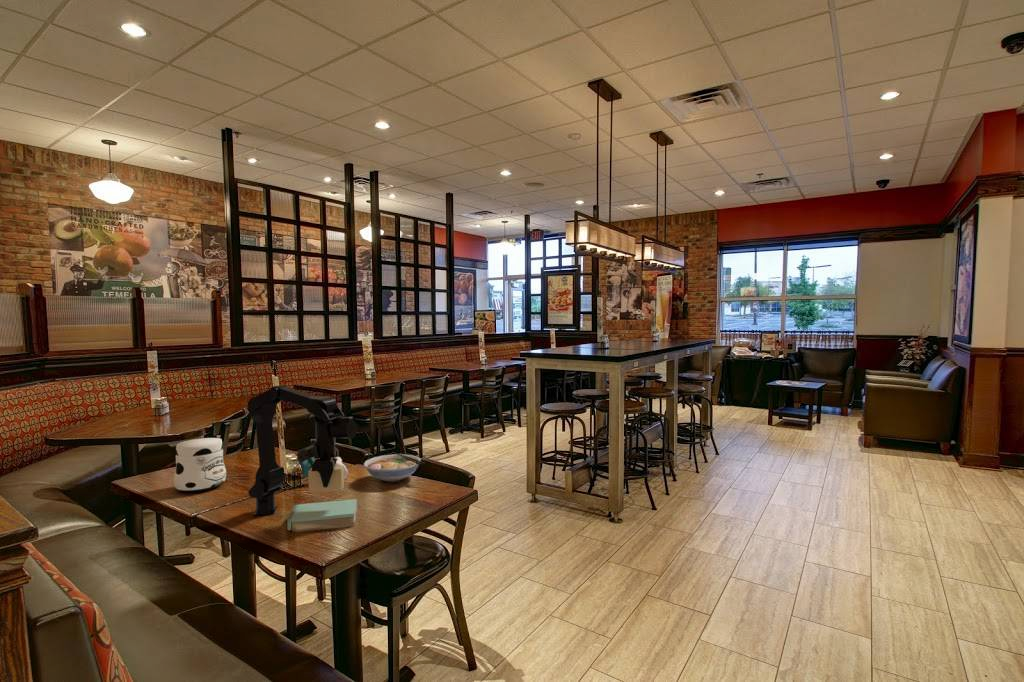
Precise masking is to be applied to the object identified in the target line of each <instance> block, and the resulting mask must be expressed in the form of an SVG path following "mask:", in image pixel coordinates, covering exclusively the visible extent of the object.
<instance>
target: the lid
mask: <svg viewBox="0 0 1024 682" xmlns="http://www.w3.org/2000/svg"><path fill="white" fill-rule="evenodd" d="M357 500H358V499H357V498H355V499H347V500H346V499H345V500H336V501H335V500H334V501H332V500H331V501H323V502H322V501H321V502H311V503H310V502H309V503H301V504H300V503H299V504H295V505H294V507H293V509H292V511H291V512H290V515H289V516H288V518H287V531H292V523H294V522H304V521H314V520H325V519H335V518H345V517H354V515H355V509H356V504H357V505H358V501H357Z"/></svg>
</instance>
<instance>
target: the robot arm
mask: <svg viewBox="0 0 1024 682" xmlns="http://www.w3.org/2000/svg"><path fill="white" fill-rule="evenodd" d="M283 401H284V402H286V403H287V402H288V403H290V404H292V405H295V406H298V407H302V408H303V409H306V411H307V412H308V413H309V414H311V415H312V416H313V418H312V419H310V420H309V424H315V441H314V443H313V444H311V445H309V446H307V447H304V448H301V449H299V450H298V451H297V452H296V459H299V461H300V463H302V462H304V461H305V460H307V459H310V458H312V457H314V459H316V460H315V461H314V462H313V463H312V471H317V472H319V473H320V476H321V480H322V483H323V487H328V484H329V481H330V478H331V475H332V473H333V470H334V467H335V464H336V461H337V458H335V457H339V449H338V448H337V447H336V439H346V440H347V439H349V440H352V439H354V438H355V437H356V435H357V434H358V424H357V423H356V421H355V420H354V417H353V416H345V414H344V412H343V411H342V409H341V408H340V405H338V403H337V400H336V398H334V397H333V396H326V395H313V394H309V393H307V392H304V391H301V390H297V389H295V388H292V387H289V386H287V385H285V384H280V385H274V386H272V387H270V388H269V389H267V390H266V391H264V392H262V393H259V394H258V395H256V396H255V395H254V396H251V397H250V399H249V400H248V401H247V408H248V413H249V417H250V418H251V419H252V420H253V421H254V423H255V429H256V430H255V432H256V441H257V449H258V450H257V451H258V461H259V462H258V463H259V467H258V468H257V471H256V473H255V480H254V484H253V486H252V487H251V488H250V489H249V490H248V495H249V498H252V499H255V511H254V512H253V514H252V516H253V517H257V516H268V515H274V514H275V513H276V512H277V510H278V508H279V507H278V506H279V505H276V496H275V495H276V493H277V492H279V491H281V489H282V488H281V487H282V485H283V484H284V482H285V478H286V476H285V474H284V468H283V467H282V466H280V465H279V464H278V463H277V460H276V459H277V457H276V451H275V450H276V448H275V439H274V438H275V437H274V427H273V419H274V417H275V414H276V413H277V405H278V404H279V403H281V402H283ZM334 458H335V459H334Z"/></svg>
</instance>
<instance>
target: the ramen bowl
mask: <svg viewBox="0 0 1024 682" xmlns="http://www.w3.org/2000/svg"><path fill="white" fill-rule="evenodd" d="M392 453H393V454H387V455H386V454H385V455H380V456H379V455H378V456H375V457H372V458H369V459H367V460H365V461H364V462H363V465H364V468H365V470H366V471H368V473H369V474H370V475H371V476H372V477H373V478H375V479H377V480H381V481H384V482H387V483H395V482H399V481H402V480H403V479H406V478H407V477H410V476H411V475H412V474H414V473H415V472H416V471H417V469H418V467H419V466H421V465H426V463H425V462H424V461H422V459H421V458H420V457H419V456H416V455H413V454H403V453H399V452H396V451H393V452H392Z"/></svg>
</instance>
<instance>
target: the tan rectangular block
mask: <svg viewBox="0 0 1024 682" xmlns="http://www.w3.org/2000/svg"><path fill="white" fill-rule="evenodd" d="M307 478H308V493H309V494H311V493H325V492H328V493H329V492H342V491H343V489H344V488H345V479H344V466H335V467H334V470H333V473H332V475H331V478H330V481H329V484H328V487H323V483H322V480H321V476H320V473H319V472H317V471H312V468H311V469H310V470H309V471H308V477H307Z"/></svg>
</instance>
